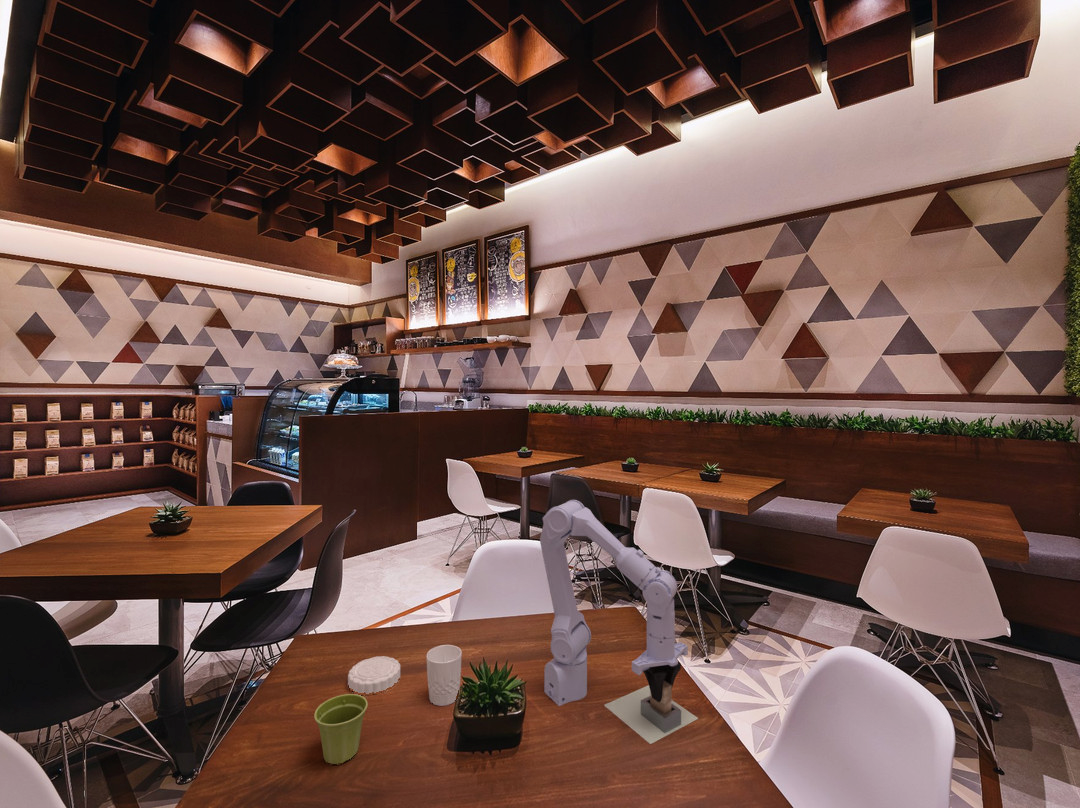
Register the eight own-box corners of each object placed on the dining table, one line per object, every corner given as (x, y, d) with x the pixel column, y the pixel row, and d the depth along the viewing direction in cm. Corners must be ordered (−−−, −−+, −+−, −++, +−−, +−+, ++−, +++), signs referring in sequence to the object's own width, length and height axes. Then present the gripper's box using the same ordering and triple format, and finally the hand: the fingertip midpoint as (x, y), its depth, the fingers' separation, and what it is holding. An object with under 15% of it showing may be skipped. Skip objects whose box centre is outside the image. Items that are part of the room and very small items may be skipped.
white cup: (423, 691, 110) (423, 648, 110) (457, 683, 113) (457, 641, 113) (430, 711, 103) (429, 666, 103) (465, 702, 106) (465, 658, 106)
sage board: (650, 749, 92) (650, 744, 92) (603, 709, 103) (603, 705, 103) (698, 723, 99) (698, 718, 99) (649, 688, 111) (649, 684, 111)
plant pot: (328, 735, 95) (328, 692, 95) (374, 736, 95) (374, 693, 95) (304, 771, 86) (304, 724, 86) (355, 773, 86) (355, 725, 86)
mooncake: (348, 702, 106) (348, 686, 106) (347, 674, 117) (347, 660, 117) (403, 689, 111) (403, 674, 111) (397, 663, 122) (397, 650, 122)
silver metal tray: (664, 733, 95) (664, 718, 95) (640, 714, 100) (640, 700, 100) (681, 724, 97) (681, 710, 97) (656, 706, 103) (656, 692, 103)
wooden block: (664, 722, 97) (664, 688, 96) (650, 711, 100) (650, 678, 100) (671, 718, 98) (671, 685, 98) (656, 708, 101) (657, 675, 101)
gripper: (649, 650, 91) (649, 720, 91) (699, 631, 99) (699, 695, 99) (624, 635, 97) (624, 701, 97) (673, 618, 105) (673, 679, 105)
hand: (660, 697), depth 99 cm, fingers closed on wooden block, 2 cm apart
